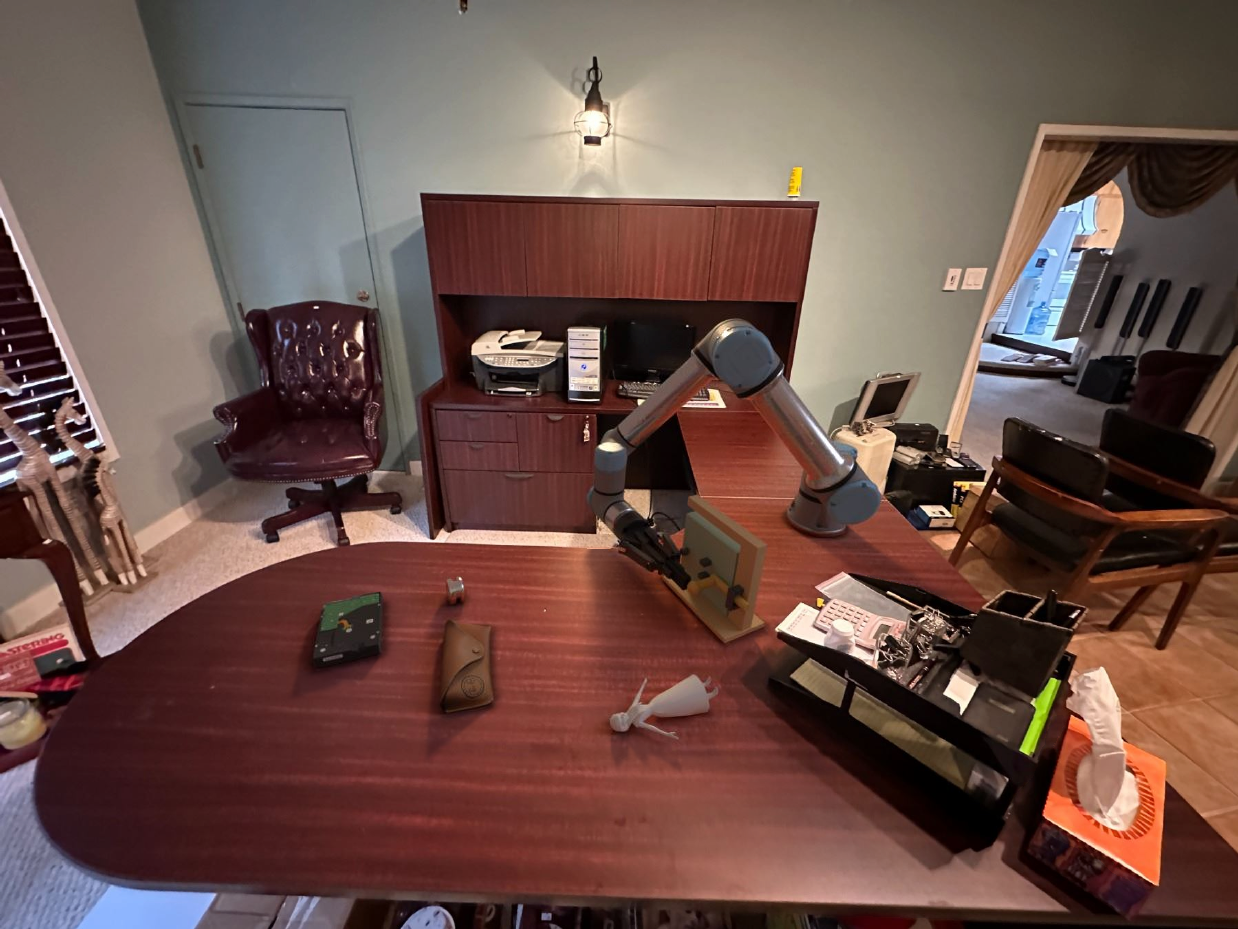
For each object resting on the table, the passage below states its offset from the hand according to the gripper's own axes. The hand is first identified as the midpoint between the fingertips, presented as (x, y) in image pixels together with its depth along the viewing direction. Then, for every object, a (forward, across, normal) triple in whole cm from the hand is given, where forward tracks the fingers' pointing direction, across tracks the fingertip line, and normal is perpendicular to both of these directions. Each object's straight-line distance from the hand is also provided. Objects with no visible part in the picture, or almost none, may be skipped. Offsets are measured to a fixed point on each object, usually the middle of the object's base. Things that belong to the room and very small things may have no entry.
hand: (686, 583), depth 95 cm
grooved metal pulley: (-24, +39, -8) cm, 47 cm away
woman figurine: (+17, +16, -8) cm, 24 cm away
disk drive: (-23, +58, -8) cm, 63 cm away
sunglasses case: (-6, +41, -8) cm, 42 cm away
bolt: (+5, -3, -1) cm, 6 cm away
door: (-1, -8, -8) cm, 11 cm away
